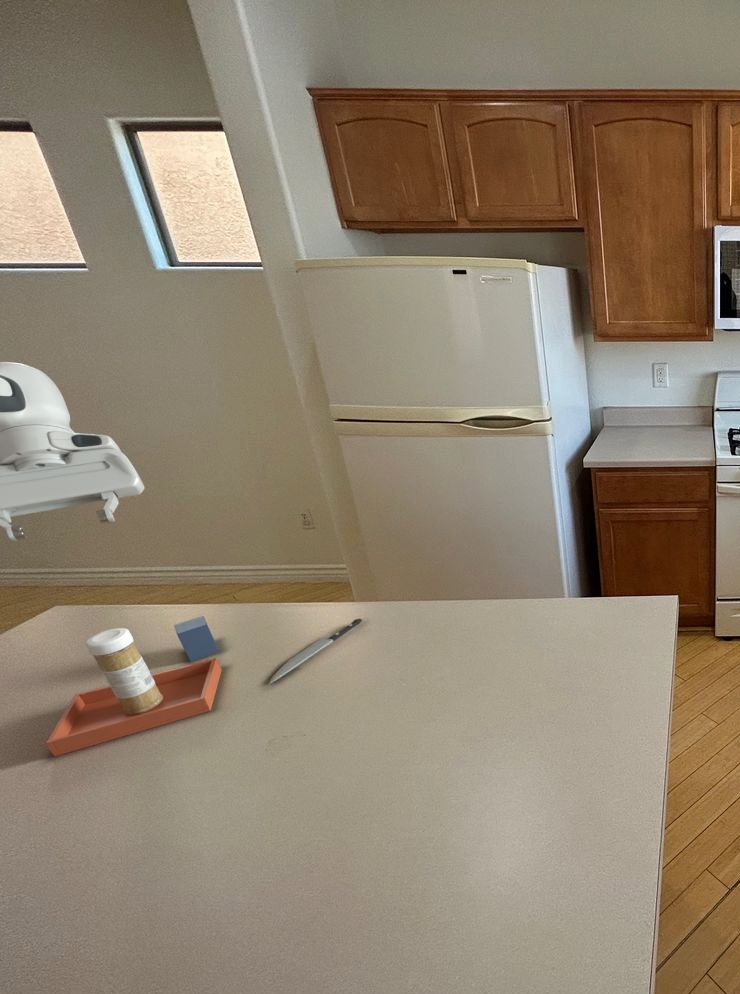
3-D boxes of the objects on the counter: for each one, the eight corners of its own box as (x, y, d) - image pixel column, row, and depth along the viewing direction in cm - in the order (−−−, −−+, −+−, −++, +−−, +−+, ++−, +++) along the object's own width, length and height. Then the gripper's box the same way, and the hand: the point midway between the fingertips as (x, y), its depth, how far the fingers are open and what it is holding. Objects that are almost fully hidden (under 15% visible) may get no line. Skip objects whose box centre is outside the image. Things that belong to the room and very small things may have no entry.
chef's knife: (256, 683, 93) (269, 685, 92) (253, 677, 93) (266, 680, 92) (352, 620, 110) (364, 621, 109) (350, 615, 109) (362, 617, 108)
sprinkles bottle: (139, 697, 89) (101, 628, 83) (171, 694, 89) (136, 625, 84) (116, 717, 85) (74, 646, 79) (150, 714, 85) (111, 643, 80)
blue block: (190, 661, 98) (176, 634, 95) (187, 652, 100) (173, 624, 98) (219, 651, 100) (207, 624, 98) (215, 642, 103) (203, 615, 100)
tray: (54, 756, 79) (45, 743, 77) (82, 706, 87) (74, 694, 86) (210, 710, 87) (204, 698, 86) (222, 669, 96) (216, 657, 95)
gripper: (-76, 458, 80) (-54, 541, 78) (122, 434, 93) (146, 504, 90) (-51, 479, 85) (-30, 558, 82) (134, 453, 97) (157, 520, 95)
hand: (64, 529), depth 86 cm, fingers open, 8 cm apart
